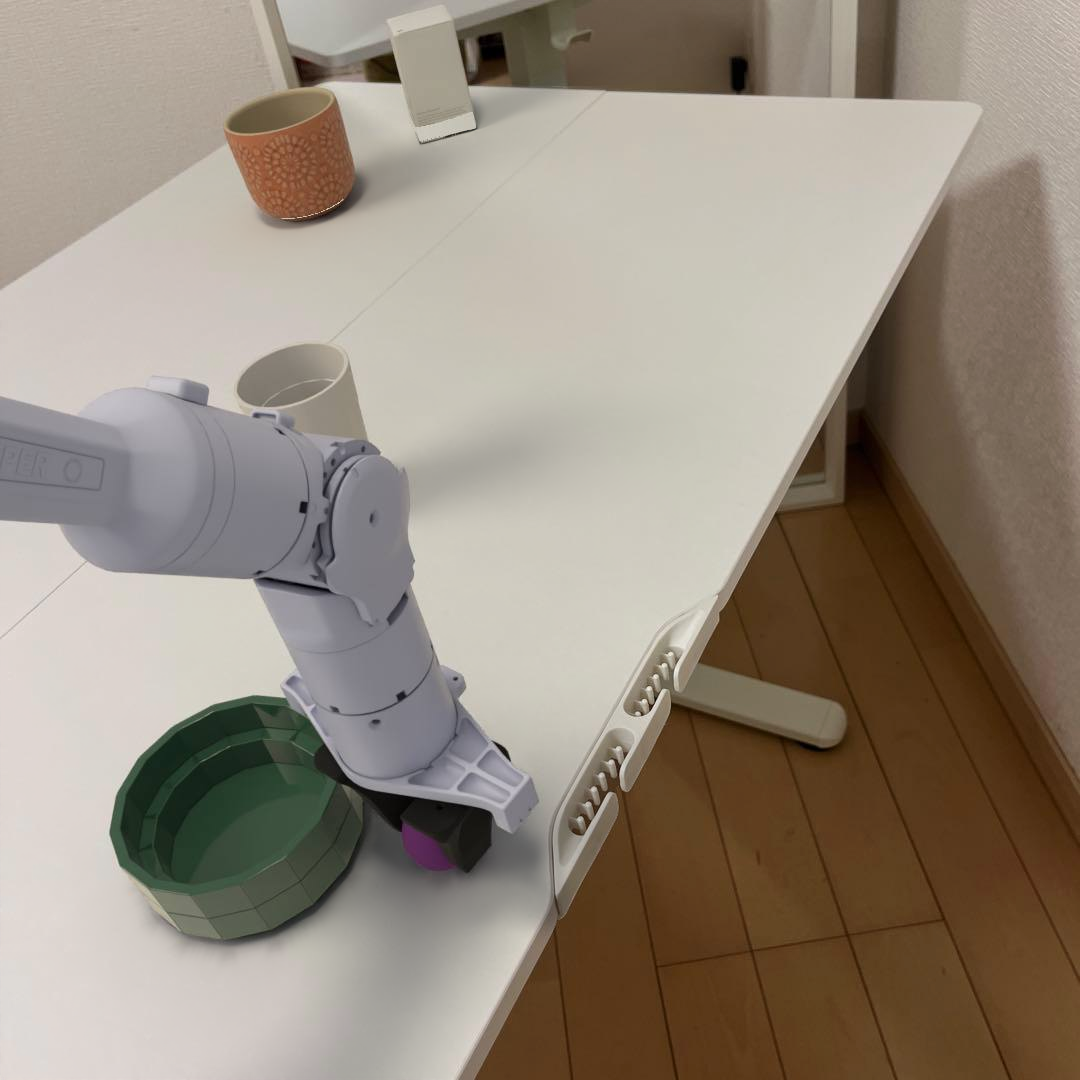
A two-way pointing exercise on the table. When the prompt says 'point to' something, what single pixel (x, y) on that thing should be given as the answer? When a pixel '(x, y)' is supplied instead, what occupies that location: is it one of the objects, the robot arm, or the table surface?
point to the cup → (305, 388)
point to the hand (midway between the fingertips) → (444, 837)
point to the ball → (424, 850)
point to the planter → (292, 152)
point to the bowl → (234, 820)
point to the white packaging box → (430, 65)
